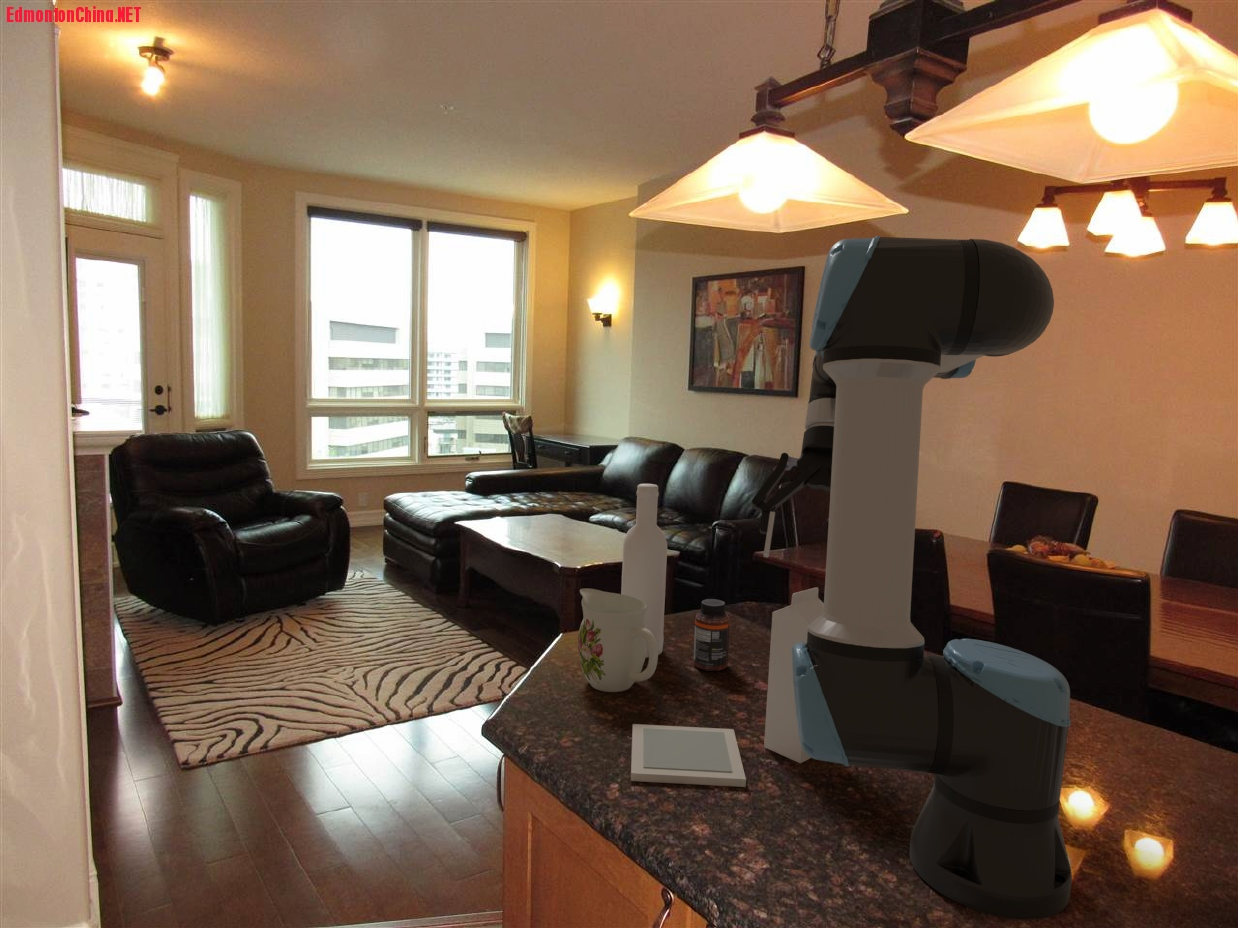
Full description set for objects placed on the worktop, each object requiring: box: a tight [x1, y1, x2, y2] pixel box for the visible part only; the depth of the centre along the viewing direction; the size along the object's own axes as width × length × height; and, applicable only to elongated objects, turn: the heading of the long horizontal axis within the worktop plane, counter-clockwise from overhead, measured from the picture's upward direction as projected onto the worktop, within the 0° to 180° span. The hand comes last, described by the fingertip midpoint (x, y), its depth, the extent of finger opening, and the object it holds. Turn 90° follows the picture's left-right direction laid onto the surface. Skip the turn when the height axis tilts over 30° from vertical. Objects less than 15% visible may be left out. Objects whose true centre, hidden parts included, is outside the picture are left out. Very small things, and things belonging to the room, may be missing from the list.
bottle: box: [620, 483, 668, 659], centre depth 146 cm, size 8×8×30 cm
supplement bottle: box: [693, 598, 731, 672], centre depth 140 cm, size 6×6×11 cm
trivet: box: [630, 723, 747, 788], centre depth 107 cm, size 14×14×1 cm
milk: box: [763, 586, 824, 764], centre depth 110 cm, size 6×6×22 cm
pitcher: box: [577, 587, 659, 693], centre depth 130 cm, size 11×18×14 cm, turn 41°
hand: (811, 562), depth 123 cm, fingers open, 13 cm apart
